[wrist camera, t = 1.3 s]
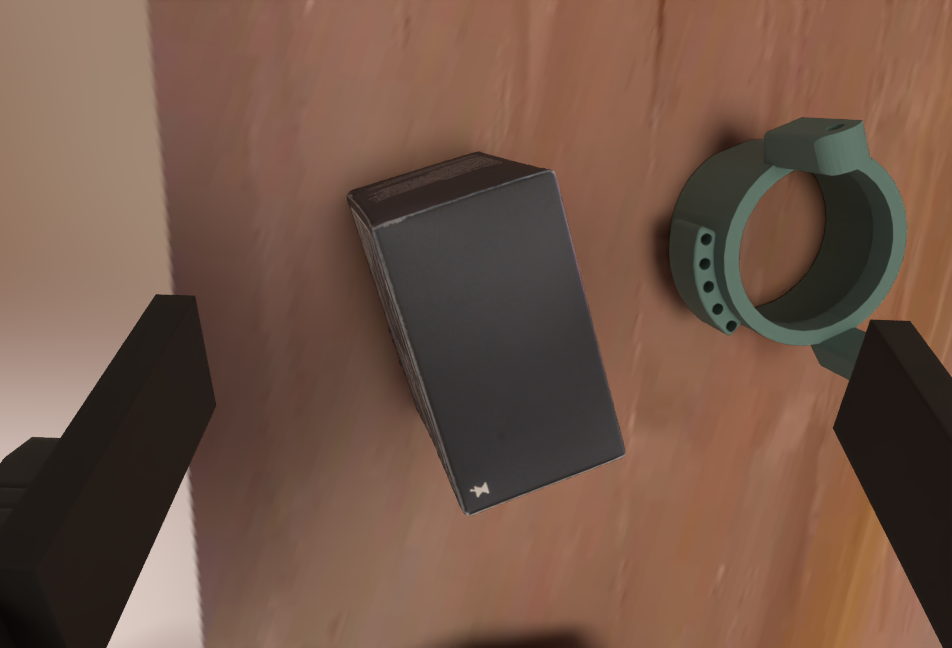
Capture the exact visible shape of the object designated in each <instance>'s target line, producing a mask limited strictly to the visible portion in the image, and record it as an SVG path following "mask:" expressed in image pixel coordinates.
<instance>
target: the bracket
mask: <svg viewBox="0 0 952 648" xmlns="http://www.w3.org/2000/svg"><path fill="white" fill-rule="evenodd" d="M794 170H798V171H805V172H811V173H813V174H814V175H815V177H816V178H817V180H818V183H819V185H820V187H821V189H822V192H823V196H824V201H825V205H826V227H825V235H824V238H823V242H822V245H821V249H820V251H819V253H818V255H817V257H816V260H815V262H814V264H813V265H812V267H811V268H810V270H809V271H808V273H807V274H806V275H805V277H804V278H803V279H802V280H801V281H800V282H799V283H798V284H797V285H796V286H795V287H794V288H793V289H791V290H790V291H789V292H788V293H786V294H785V295H784V296H782V297H780V298H778V299H776V300H775V301H773V302H771V303H768V304H765V305H762V306H759V307H754V306H753V305H752V303H751V302H750V300H749V299H748V297H747V295H746V293H745V290H744V287H743V285H742V282H741V276H740V270H739V249H740V243H741V238H742V233H743V231H744V228H745V225H746V223H747V220H748V218H749V216H750V214H751V212H752V211H753V209H754V207H755V205H756V204H757V202H758V201H759V200H760V199H761V197H762V196H763V195H764V194H765V192H766V191H767V190H768V189H769V188H770V187H771V186H773V185H774V184H775V183H776V182H777V181H778V180H779V179H781V178H782V177H784V176H786V175H787V174H789V173H791V172H792V171H794ZM906 237H907V222H906V212H905V208H904V204H903V201H902V197H901V195H900V192H899V190H898V188H897V186H896V184H895V182H894V181H893V179H892V178H891V177H890V175H889V174H888V172H887V171H886V170H885V169H884V168H883V167H882V166H881V165H880V164H879V163H877V162H876V161H875V160H874V159H872V158H870V154H869V149H868V144H867V139H866V134H865V129H864V124H863V120H846V119H825V118H805V117H802V118H799V119H797V120H794V121H792V122H790V123H787V124H785V125H782V126H780V127H778V128H775V129H773V130H771V131H768V132H767V133H766V134H765V136H764V139H754V140H748V141H746V142H743V143H741V144H739V145H736V146H734V147H732V148H729V149H727V150H724V151H722V152H720V153H717V154H715V155H712V156H711V157H710V158H709V159H708V160H707V161H705V162H704V163H703V164H702V165H701V166H700V167H699V168H698V169H697V170H696V172H695V173H694V174H693V175H692V176H691V177H690V179H689V180H688V182H687V184H686V185H685V187H684V189H683V190H682V192H681V194H680V196H679V199H678V201H677V204H676V206H675V209H674V213H673V217H672V222H671V230H670V246H669V256H670V268H671V272H672V276H673V280H674V283H675V285H676V288H677V290H678V292H679V294H680V296H681V298H682V300H683V301H684V302H685V304H686V305H687V307H688V308H689V309H690V310H691V311H692V312H693V313H694V314H695V315H696V316H697V317H698V318H699V319H700V320H701V321H703V322H705V323H707V324H709V325H710V326H712V327H714V328H716V329H717V330H719V331H721V332H723V333H725V334H726V335H731V334H732V333H733V332H734V331H735V330H736V329H737V328H738V326H739V325H740V324H742V325H744V326H745V327H747V328H749V329H751V330H753V331H755V332H757V333H759V334H761V335H763V336H765V337H767V338H769V339H771V340H774V341H776V342H780V343H784V344H788V345H802V346H806V345H811V347H812V349H813V351H814V353H815V355H816V357H817V359H818V361H819V363H820V365H821V366H823V367H825V368H827V369H829V370H831V371H832V372H834V373H836V374H838V375H840V376H842V377H844V378H846V379H848V380H850V377H851V374H852V371H853V368H854V366H855V363H856V360H857V357H858V354H859V351H860V348H861V345H862V343H863V340H864V337H865V334H866V332H864V331H862V330H859V329H857V328H856V327H857V326H858V325H859V324H860V323H862V322H863V321H864V320H865V319H867V318H868V317H869V316H870V315H871V314H872V313H873V312H874V310H875V309H876V308H877V307H878V306H879V305H880V304H881V302H882V301H883V299H884V298H885V297H886V295H887V294H888V292H889V291H890V289H891V287H892V285H893V283H894V281H895V279H896V277H897V275H898V272H899V269H900V267H901V264H902V261H903V257H904V252H905V247H906Z"/></svg>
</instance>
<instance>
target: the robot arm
mask: <svg viewBox="0 0 952 648" xmlns="http://www.w3.org/2000/svg"><path fill="white" fill-rule="evenodd" d="M215 407H216V402H215V397H214V392H213V387H212V381H211V376H210V371H209V366H208V361H207V355H206V350H205V345H204V340H203V335H202V330H201V324H200V319H199V314H198V309H197V304H196V299H195V296H187V295H159V294H156V295H155V296H154V298H153V300H152V301H151V302H150V304H149V306H148V307H147V309H146V310H145V312H144V313H143V314H142V316H141V318H140V319H139V321H138V322H137V324H136V325H135V327H134V328H133V330H132V331H131V333H130V334H129V336H128V337H127V339H126V340H125V342H124V343H123V345H122V346H121V348H120V349H119V351H118V352H117V354H116V355H115V357H114V358H113V360H112V361H111V363H110V364H109V366H108V367H107V369H106V370H105V372H104V373H103V375H102V376H101V378H100V379H99V381H98V382H97V384H96V385H95V387H94V388H93V390H92V391H91V393H90V394H89V396H88V397H87V399H86V400H85V402H84V403H83V405H82V406H81V408H80V409H79V411H78V412H77V414H76V415H75V417H74V418H73V420H72V422H71V423H70V425H69V426H68V427H67V429H66V430H65V432H64V433H63V435H62V436H61V438H44V437H31V438H30V439H29V440H28V441H26V442H25V443H24V444H22V445H21V446H20V447H18V448H17V449H16V450H14V451H13V452H12V453H10V454H9V455H8V456H6V457H5V458H4V459H3V460H2V462H1V463H0V648H106V647H107V645H108V643H109V641H110V639H111V636H112V634H113V632H114V630H115V628H116V625H117V623H118V621H119V619H120V617H121V614H122V612H123V610H124V608H125V606H126V603H127V601H128V599H129V597H130V594H131V592H132V590H133V587H134V586H135V583H136V581H137V579H138V577H139V575H140V572H141V570H142V568H143V565H144V564H145V561H146V559H147V557H148V555H149V553H150V550H151V548H152V546H153V544H154V542H155V539H156V537H157V535H158V533H159V531H160V528H161V526H162V523H163V522H164V520H165V517H166V515H167V513H168V511H169V508H170V506H171V504H172V502H173V500H174V497H175V495H176V493H177V491H178V488H179V486H180V484H181V482H182V480H183V478H184V475H185V473H186V471H187V469H188V467H189V464H190V462H191V460H192V458H193V456H194V453H195V451H196V449H197V447H198V444H199V442H200V440H201V438H202V436H203V433H204V431H205V429H206V427H207V425H208V422H209V420H210V418H211V416H212V414H213V411H214V409H215ZM833 429H834V431H835V433H836V435H837V437H838V439H839V441H840V443H841V445H842V447H843V449H844V451H845V453H846V455H847V457H848V459H849V461H850V463H851V465H852V467H853V469H854V471H855V473H856V475H857V477H858V479H859V481H860V483H861V485H862V487H863V489H864V491H865V493H866V495H867V497H868V499H869V501H870V503H871V505H872V507H873V509H874V511H875V513H876V515H877V517H878V519H879V521H880V523H881V525H882V527H883V529H884V531H885V533H886V535H887V537H888V539H889V541H890V543H891V545H892V547H893V549H894V551H895V553H896V555H897V557H898V559H899V561H900V563H901V565H902V567H903V569H904V571H905V573H906V575H907V577H908V579H909V581H910V583H911V585H912V587H913V589H914V591H915V593H916V595H917V597H918V599H919V601H920V603H921V605H922V607H923V609H924V611H925V613H926V615H927V617H928V619H929V621H930V623H931V625H932V627H933V629H934V631H935V633H936V635H937V637H938V639H939V641H940V643H941V645H942V647H943V648H952V377H951V376H950V374H949V373H948V372H947V370H946V369H945V368H944V366H943V365H942V363H941V362H940V361H939V359H938V358H937V357H936V355H935V354H934V353H933V351H932V350H931V349H930V347H929V346H928V345H927V343H926V342H925V340H924V339H923V338H922V336H921V335H920V334H919V332H918V331H917V330H916V328H915V327H914V326H913V324H912V323H911V322H910V321H894V320H870V322H869V325H868V328H867V331H866V334H865V337H864V340H863V343H862V345H861V348H860V351H859V354H858V357H857V360H856V363H855V366H854V368H853V371H852V374H851V377H850V380H849V383H848V386H847V389H846V392H845V394H844V397H843V400H842V403H841V406H840V409H839V412H838V415H837V418H836V420H835V423H834V426H833Z"/></svg>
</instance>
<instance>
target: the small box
mask: <svg viewBox="0 0 952 648" xmlns="http://www.w3.org/2000/svg"><path fill="white" fill-rule="evenodd" d="M347 200H348V203H349V206H350V208H351V212H352V215H353V218H354V222H355V225H356V228H357V231H358V234H359V237H360V240H361V243H362V246H363V249H364V251H365V255H366V258H367V261H368V264H369V267H370V273H371V274H372V277H373V279H374V283H375V285H376V288H377V292H378V295H379V298H380V301H381V303H382V307H383V310H384V314H385V316H386V319H387V322H388V326H389V331H390V333H391V336H392V338H393V343H394V345H395V348H396V349H397V354H398V356H399V362H400V365H401V366H402V368H403V371H404V374H405V376H406V379H407V381H408V385H409V388H410V390H411V393H412V396H413V399H414V402H415V405H416V409H417V411H418V413H419V414H420V417H421V419H422V421H423V422H424V424H425V426H426V428H427V430H428V432H429V435H430V437H431V438H432V441H433V443H434V446H435V448H436V450H437V453H438V456H439V458H440V460H441V462H442V465H443V467H444V469H445V471H446V474H447V476H448V479H449V482H450V484H451V486H452V489H453V491H454V493H455V496H456V498H457V500H458V502H459V505H460V507H461V509H462V511H463V513H464V514H466V515H468V516H472V515H475V514H477V513H480V512H483V511H485V510H487V509H490V508H492V507H495V506H497V505H499V504H502V503H505V502H508V501H511V500H513V499H516V498H518V497H521V496H524V495H527V494H529V493H531V492H534V491H537V490H539V489H542V488H544V487H547V486H550V485H552V484H555V483H558V482H560V481H563V480H565V479H568V478H571V477H574V476H577V475H579V474H581V473H584V472H587V471H589V470H592V469H595V468H597V467H600V466H602V465H604V464H607V463H610V462H612V461H615V460H618V459H620V458H623V457H624V455H625V447H624V443H623V439H622V436H621V432H620V427H619V423H618V420H617V416H616V412H615V408H614V404H613V401H612V397H611V393H610V389H609V385H608V381H607V377H606V373H605V369H604V365H603V362H602V358H601V354H600V350H599V346H598V342H597V338H596V334H595V330H594V326H593V322H592V318H591V314H590V310H589V306H588V302H587V298H586V294H585V290H584V286H583V282H582V278H581V274H580V271H579V267H578V263H577V259H576V255H575V251H574V247H573V243H572V238H571V234H570V230H569V226H568V222H567V218H566V213H565V209H564V205H563V201H562V197H561V193H560V189H559V185H558V181H557V177H556V173H555V172H554V171H553V170H550V169H545V168H538V167H535V166H530V165H526V164H522V163H518V162H514V161H510V160H507V159H503V158H499V157H496V156H492V155H488V154H485V153H482V152H475V153H471V154H468V155H465V156H462V157H458V158H455V159H452V160H448V161H444V162H442V163H439V164H435V165H432V166H428V167H425V168H422V169H419V170H416V171H413V172H409V173H406V174H403V175H400V176H397V177H394V178H390V179H387V180H384V181H380V182H377V183H374V184H371V185H368V186H365V187H361V188H358V189H355V190H352V191H350V192H349V194H348V195H347Z"/></svg>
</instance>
